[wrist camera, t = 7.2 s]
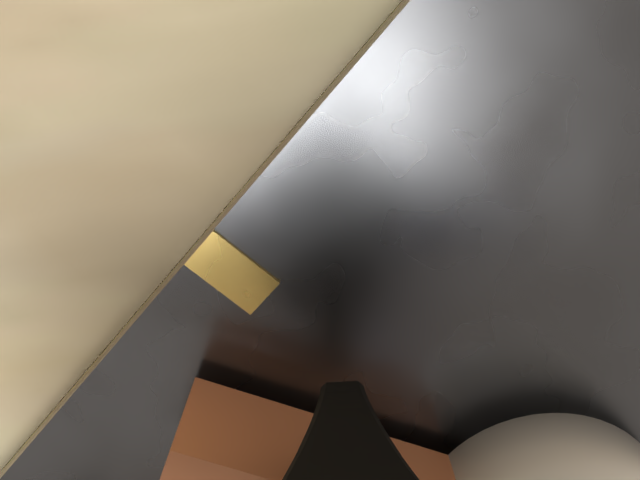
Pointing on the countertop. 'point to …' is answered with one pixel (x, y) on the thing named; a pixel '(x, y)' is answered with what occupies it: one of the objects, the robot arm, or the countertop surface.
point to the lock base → (407, 248)
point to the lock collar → (428, 465)
